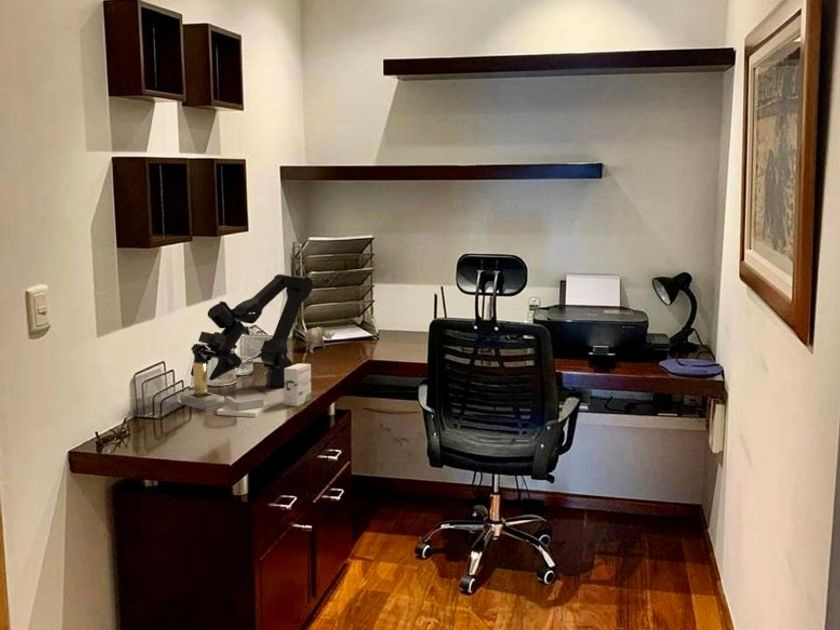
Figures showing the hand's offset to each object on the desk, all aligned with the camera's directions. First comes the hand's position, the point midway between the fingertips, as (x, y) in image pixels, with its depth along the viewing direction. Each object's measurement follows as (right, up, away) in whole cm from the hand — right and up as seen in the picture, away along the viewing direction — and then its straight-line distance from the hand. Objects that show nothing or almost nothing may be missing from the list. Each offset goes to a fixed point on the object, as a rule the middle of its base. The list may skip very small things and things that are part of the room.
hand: (200, 377), depth 257 cm
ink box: (+29, -8, +5) cm, 31 cm away
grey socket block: (0, -8, +1) cm, 8 cm away
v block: (+14, -10, -5) cm, 18 cm away
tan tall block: (0, -8, +1) cm, 8 cm away
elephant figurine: (+25, +5, +89) cm, 93 cm away
